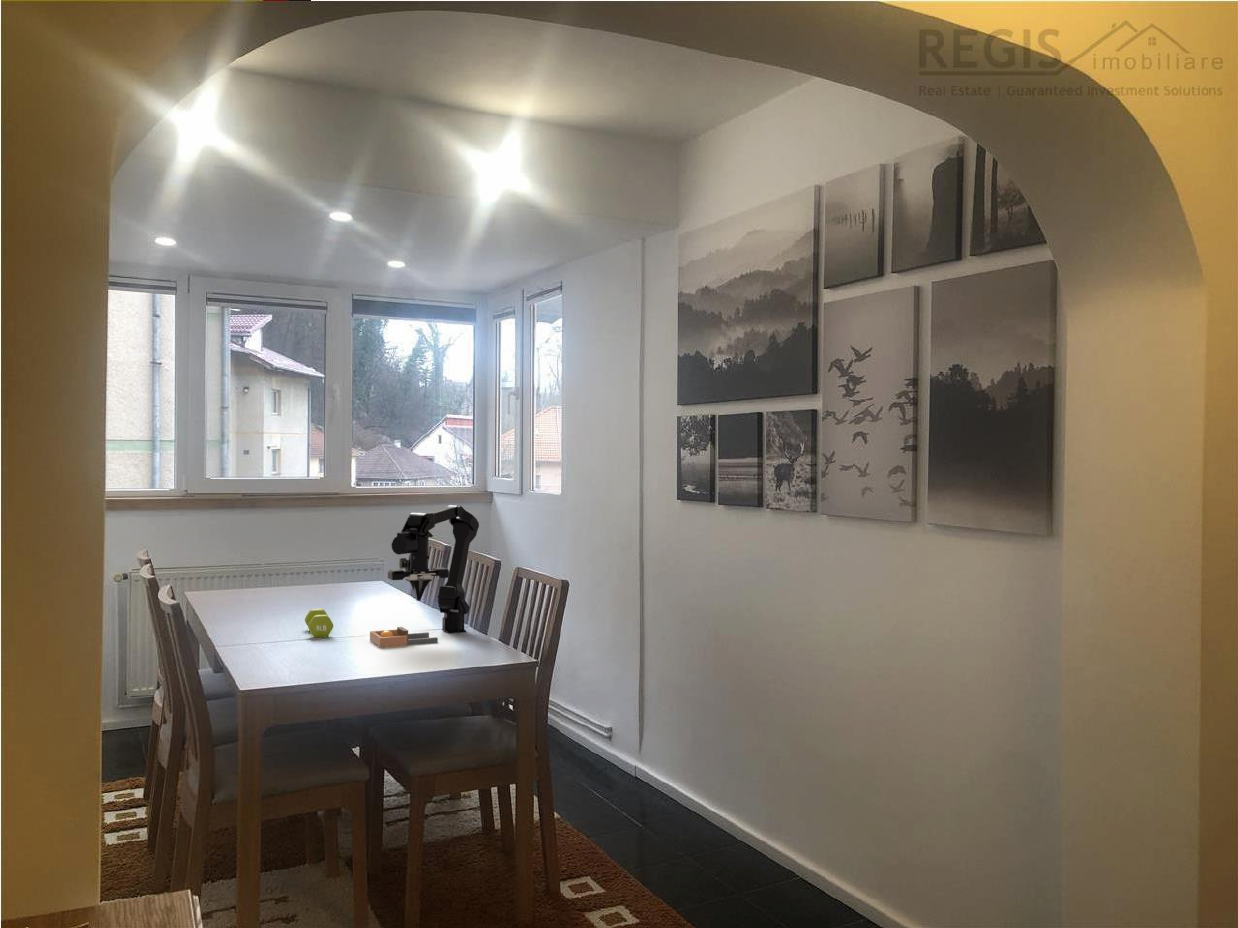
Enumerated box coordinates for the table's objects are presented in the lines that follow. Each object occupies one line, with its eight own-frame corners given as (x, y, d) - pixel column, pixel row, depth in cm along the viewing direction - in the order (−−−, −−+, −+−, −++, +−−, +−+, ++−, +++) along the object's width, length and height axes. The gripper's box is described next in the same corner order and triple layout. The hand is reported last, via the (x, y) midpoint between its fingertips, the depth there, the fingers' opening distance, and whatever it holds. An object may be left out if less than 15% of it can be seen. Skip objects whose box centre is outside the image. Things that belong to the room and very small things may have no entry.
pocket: (396, 638, 305) (396, 629, 305) (407, 645, 295) (407, 635, 295) (369, 640, 301) (370, 631, 301) (379, 647, 290) (380, 638, 290)
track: (427, 636, 309) (428, 632, 309) (437, 642, 300) (437, 637, 300) (397, 639, 304) (397, 634, 304) (406, 644, 296) (406, 640, 296)
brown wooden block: (401, 639, 303) (402, 626, 303) (408, 643, 297) (408, 630, 297) (396, 639, 302) (397, 627, 302) (403, 643, 297) (403, 630, 297)
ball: (376, 638, 298) (387, 644, 300) (379, 641, 294) (390, 646, 296) (382, 627, 299) (393, 632, 301) (386, 629, 295) (397, 635, 297)
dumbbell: (333, 637, 305) (334, 615, 305) (307, 639, 302) (308, 616, 302) (328, 628, 321) (329, 607, 320) (304, 629, 318) (304, 608, 317)
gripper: (439, 548, 314) (438, 595, 314) (383, 550, 305) (382, 598, 305) (450, 552, 304) (449, 600, 304) (393, 553, 295) (392, 603, 295)
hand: (418, 600), depth 302 cm, fingers closed
